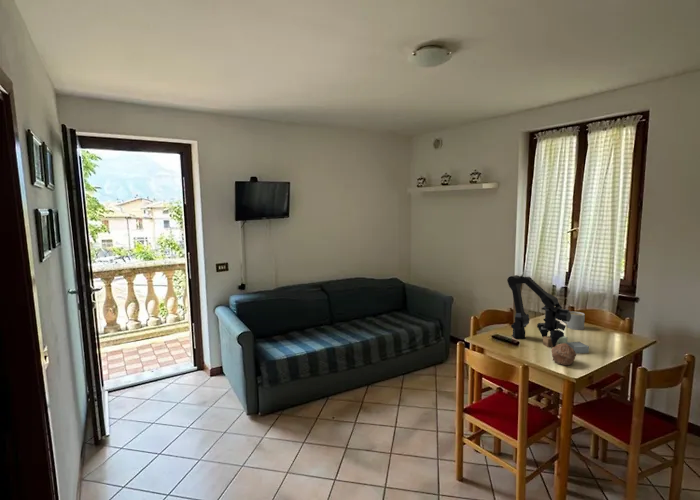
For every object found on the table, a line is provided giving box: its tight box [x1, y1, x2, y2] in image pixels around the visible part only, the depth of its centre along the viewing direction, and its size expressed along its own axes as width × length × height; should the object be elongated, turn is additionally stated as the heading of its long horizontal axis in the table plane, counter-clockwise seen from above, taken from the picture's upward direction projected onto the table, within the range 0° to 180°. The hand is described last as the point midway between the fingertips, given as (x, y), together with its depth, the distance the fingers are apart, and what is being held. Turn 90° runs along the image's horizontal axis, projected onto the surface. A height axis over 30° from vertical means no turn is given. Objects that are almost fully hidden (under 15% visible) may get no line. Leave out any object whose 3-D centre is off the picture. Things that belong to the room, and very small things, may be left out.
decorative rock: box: [550, 343, 577, 366], centre depth 200 cm, size 13×11×10 cm
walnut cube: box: [542, 335, 557, 348], centre depth 226 cm, size 5×5×5 cm
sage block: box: [556, 335, 569, 344], centre depth 230 cm, size 4×4×4 cm
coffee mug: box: [561, 311, 586, 331], centre depth 260 cm, size 13×10×10 cm
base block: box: [566, 341, 590, 355], centre depth 217 cm, size 8×8×4 cm
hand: (549, 343), depth 226 cm, fingers open, 9 cm apart
